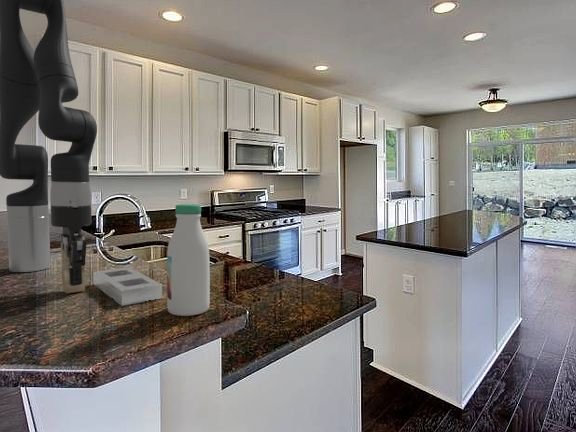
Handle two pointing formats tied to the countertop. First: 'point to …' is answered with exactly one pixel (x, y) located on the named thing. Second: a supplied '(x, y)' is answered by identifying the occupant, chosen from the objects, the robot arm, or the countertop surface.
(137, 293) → the white slotted block
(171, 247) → the milk bottle
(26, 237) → the robot arm
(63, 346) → the countertop surface
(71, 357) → the countertop surface
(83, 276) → the beech peg
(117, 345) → the countertop surface
